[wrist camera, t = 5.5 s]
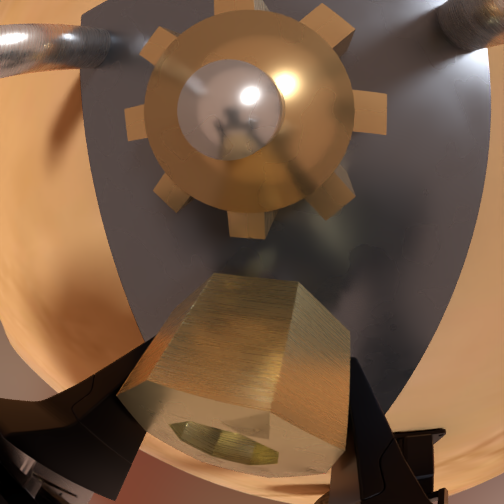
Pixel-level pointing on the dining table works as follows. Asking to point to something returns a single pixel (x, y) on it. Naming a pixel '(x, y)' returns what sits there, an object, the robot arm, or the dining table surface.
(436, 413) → the dining table surface
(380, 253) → the carrier
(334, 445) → the hollow octagonal tube
